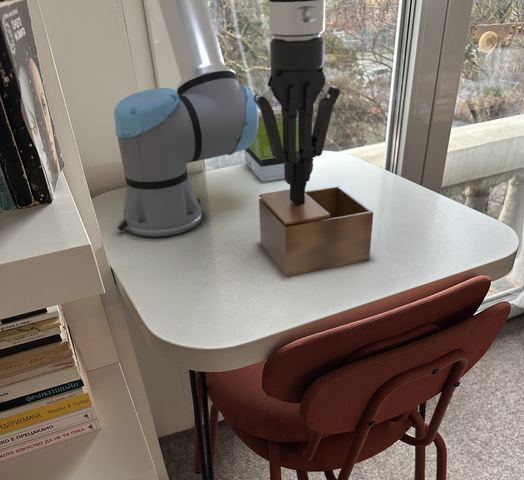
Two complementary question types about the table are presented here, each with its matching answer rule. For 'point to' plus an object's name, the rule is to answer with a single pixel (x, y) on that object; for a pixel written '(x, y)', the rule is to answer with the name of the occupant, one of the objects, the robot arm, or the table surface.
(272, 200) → the flap
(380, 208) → the table surface
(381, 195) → the table surface
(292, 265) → the carton
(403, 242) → the table surface
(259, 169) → the tea box
